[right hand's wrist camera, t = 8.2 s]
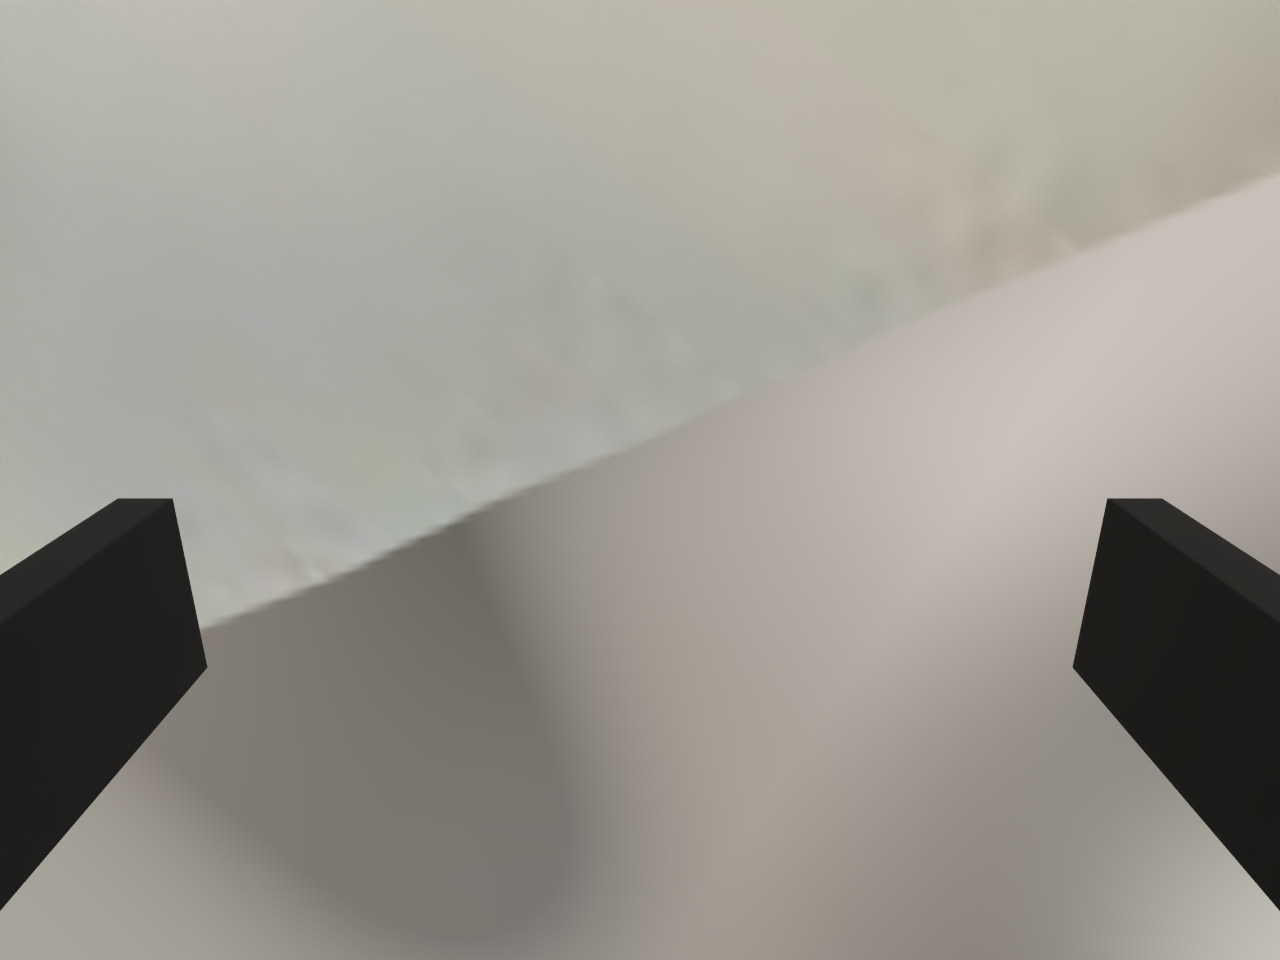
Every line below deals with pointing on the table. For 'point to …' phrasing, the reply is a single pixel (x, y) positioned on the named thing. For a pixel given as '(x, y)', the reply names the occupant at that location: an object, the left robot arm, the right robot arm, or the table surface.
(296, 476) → the table surface
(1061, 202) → the table surface
